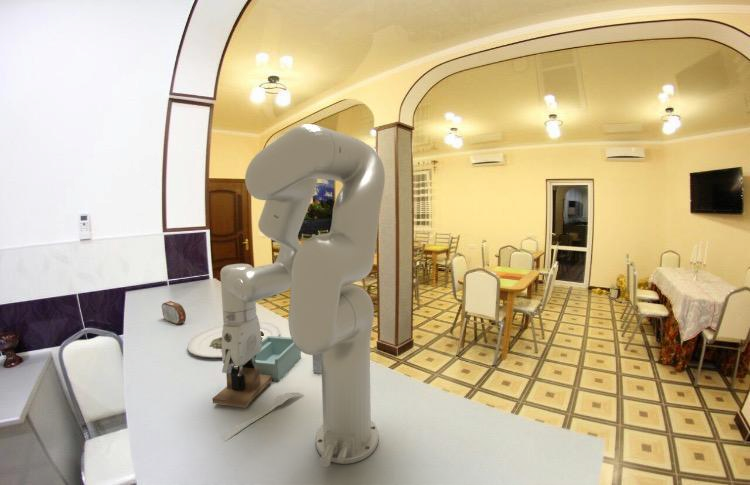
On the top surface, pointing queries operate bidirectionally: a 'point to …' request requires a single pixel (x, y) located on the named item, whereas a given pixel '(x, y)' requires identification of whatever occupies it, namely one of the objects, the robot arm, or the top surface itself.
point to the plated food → (219, 340)
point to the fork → (240, 427)
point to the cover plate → (252, 389)
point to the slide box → (277, 357)
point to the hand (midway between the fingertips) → (243, 384)
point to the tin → (173, 312)
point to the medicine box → (317, 363)
